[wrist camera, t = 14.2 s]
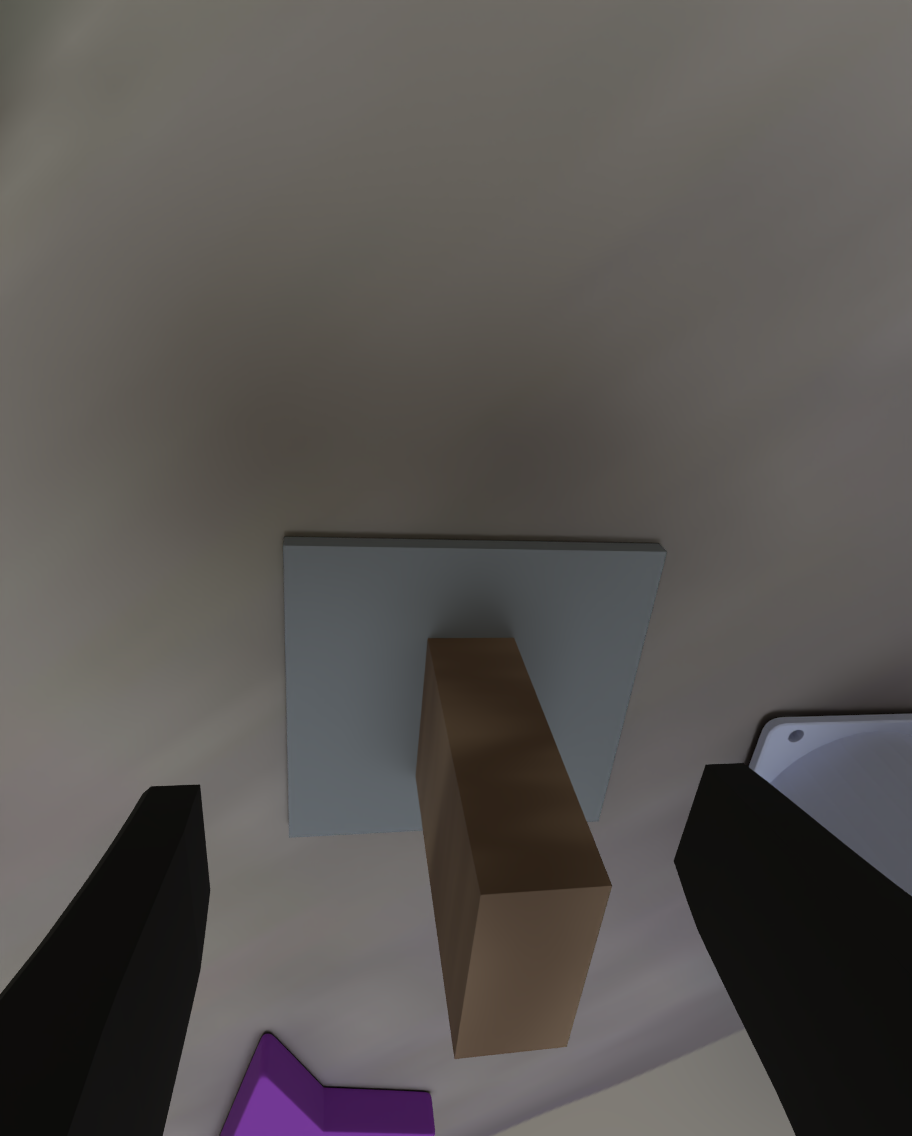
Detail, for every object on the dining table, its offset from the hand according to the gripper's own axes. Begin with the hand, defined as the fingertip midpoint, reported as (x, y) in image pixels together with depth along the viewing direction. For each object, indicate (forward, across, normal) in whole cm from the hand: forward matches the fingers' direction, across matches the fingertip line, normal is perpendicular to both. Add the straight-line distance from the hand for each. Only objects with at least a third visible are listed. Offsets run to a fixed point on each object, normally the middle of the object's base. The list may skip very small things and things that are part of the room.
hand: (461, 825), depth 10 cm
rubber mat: (+9, -2, +5) cm, 11 cm away
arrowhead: (+9, 0, +24) cm, 25 cm away
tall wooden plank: (+9, -2, +5) cm, 10 cm away
